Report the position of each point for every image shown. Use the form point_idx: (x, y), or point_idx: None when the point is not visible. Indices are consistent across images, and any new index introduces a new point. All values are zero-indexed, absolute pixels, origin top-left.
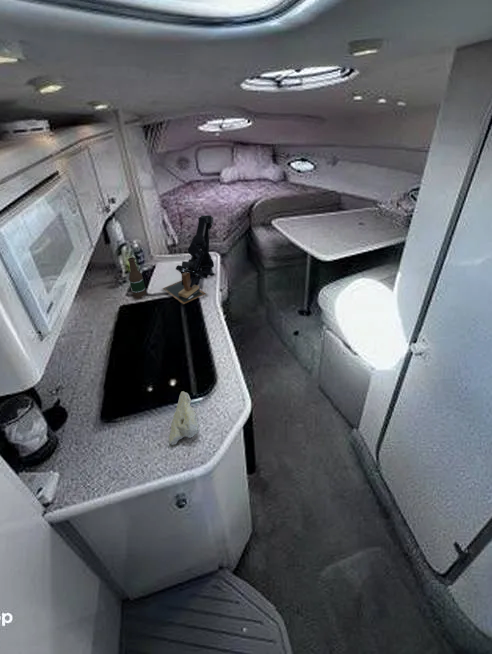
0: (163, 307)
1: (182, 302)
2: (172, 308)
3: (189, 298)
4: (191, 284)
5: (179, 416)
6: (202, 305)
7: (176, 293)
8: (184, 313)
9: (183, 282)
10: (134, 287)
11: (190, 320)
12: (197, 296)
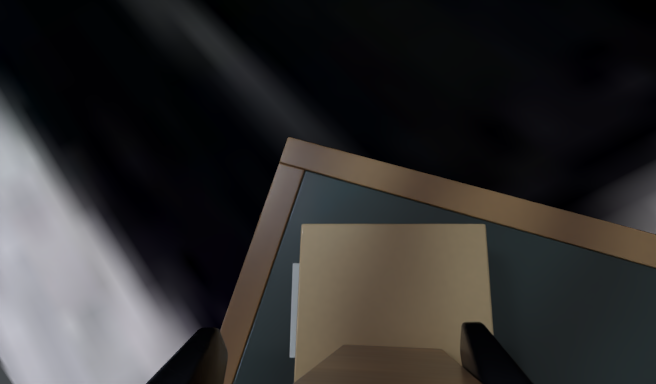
0: (491, 10)
1: (325, 158)
2: (380, 49)
3: (294, 270)
4: (158, 374)
5: None
6: (104, 260)
7: (588, 301)
8: (199, 50)
9: (454, 376)
10: None
11: (83, 4)
12: (235, 378)
